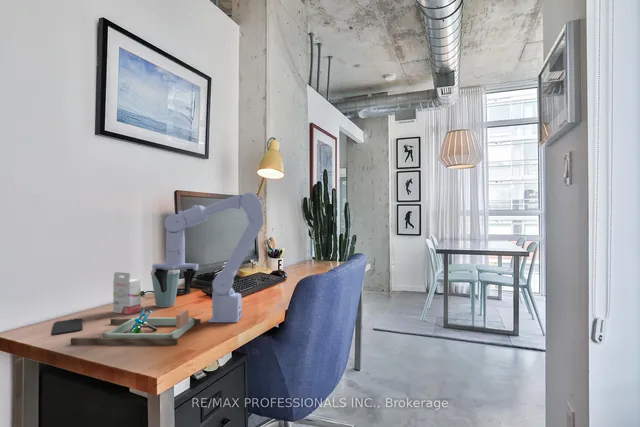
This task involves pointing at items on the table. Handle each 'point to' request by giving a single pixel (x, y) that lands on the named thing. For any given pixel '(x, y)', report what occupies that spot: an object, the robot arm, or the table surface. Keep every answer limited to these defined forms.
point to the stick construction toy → (142, 323)
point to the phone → (67, 326)
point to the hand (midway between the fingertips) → (175, 291)
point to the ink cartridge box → (126, 294)
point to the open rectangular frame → (180, 321)
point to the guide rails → (127, 340)
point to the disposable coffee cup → (170, 295)
